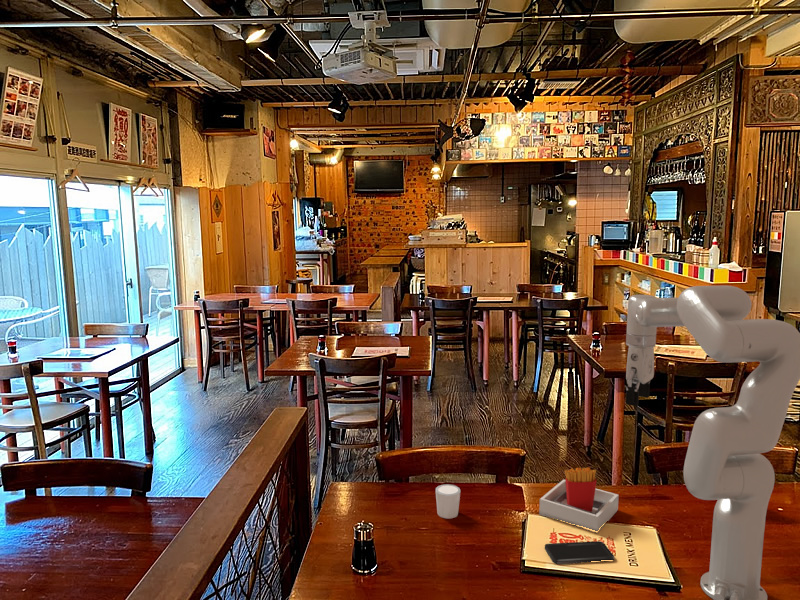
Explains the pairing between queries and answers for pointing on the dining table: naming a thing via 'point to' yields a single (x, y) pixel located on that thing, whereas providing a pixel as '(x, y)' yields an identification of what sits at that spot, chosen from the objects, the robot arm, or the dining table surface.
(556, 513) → the walled box
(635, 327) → the robot arm
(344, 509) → the dining table surface
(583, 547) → the phone
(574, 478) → the french fries
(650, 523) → the dining table surface
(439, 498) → the shot glass
